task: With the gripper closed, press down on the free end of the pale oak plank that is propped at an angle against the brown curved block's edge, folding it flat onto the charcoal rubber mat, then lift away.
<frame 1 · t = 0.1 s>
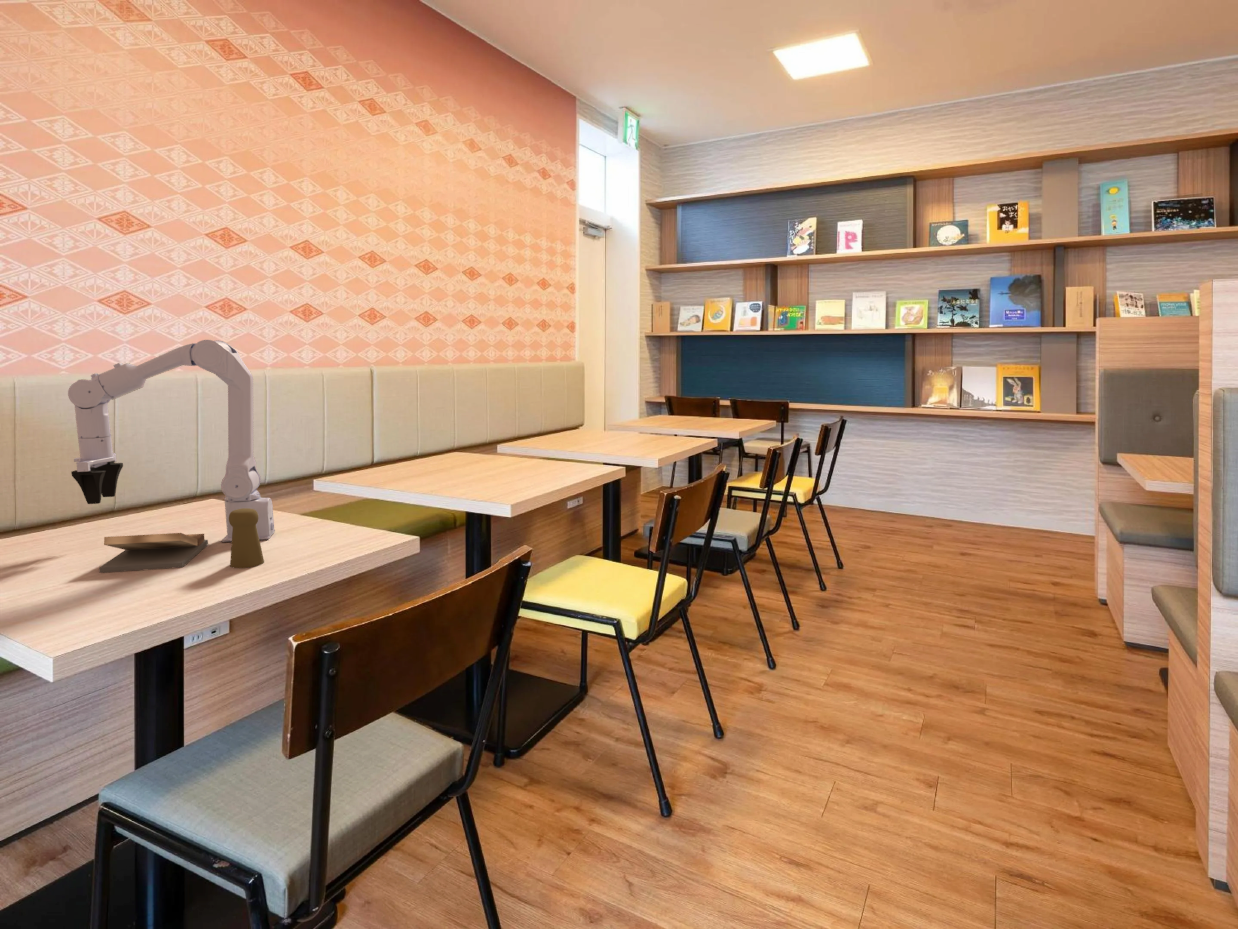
hand: (101, 500, 155), 10 cm above the table, tool pointing down, fingers open, 7 cm apart
oak plank: (153, 541, 145), point 4 cm above the table, hinge at 20.0°
olive pawn: (247, 564, 143), on the table
rubber mat: (157, 557, 147), on the table
brown curved block: (167, 549, 153), resting on rubber mat
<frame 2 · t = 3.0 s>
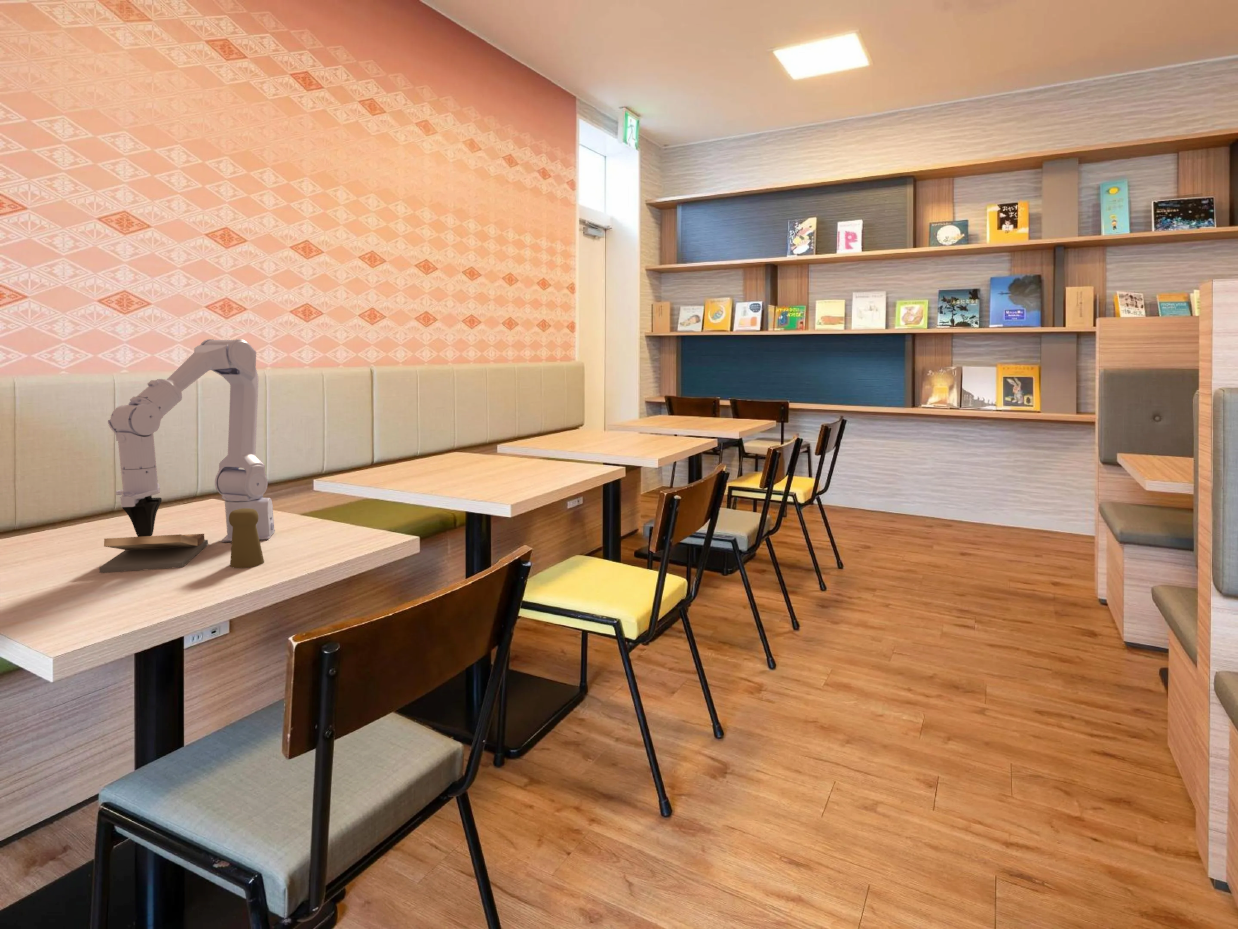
hand: (145, 536, 141), 6 cm above the table, tool pointing down, fingers closed
oak plank: (153, 542, 145), point 4 cm above the table, hinge at 18.4°, touching gripper
everything else where it was.
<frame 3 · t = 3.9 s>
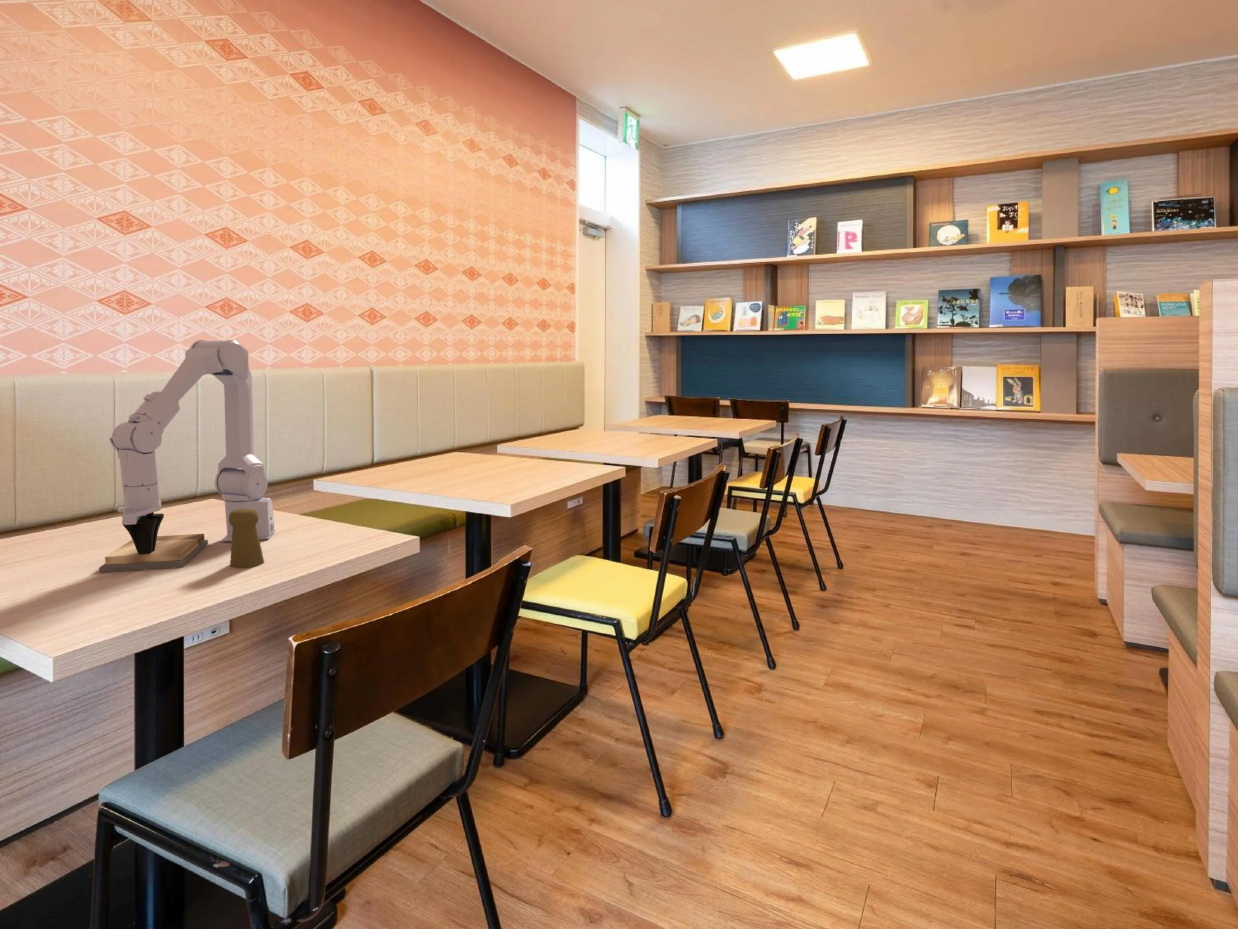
hand: (146, 552, 141), 2 cm above the table, tool pointing down, fingers closed on oak plank
oak plank: (153, 551, 145), point 2 cm above the table, hinge at -0.1°, touching gripper
everything else where it was.
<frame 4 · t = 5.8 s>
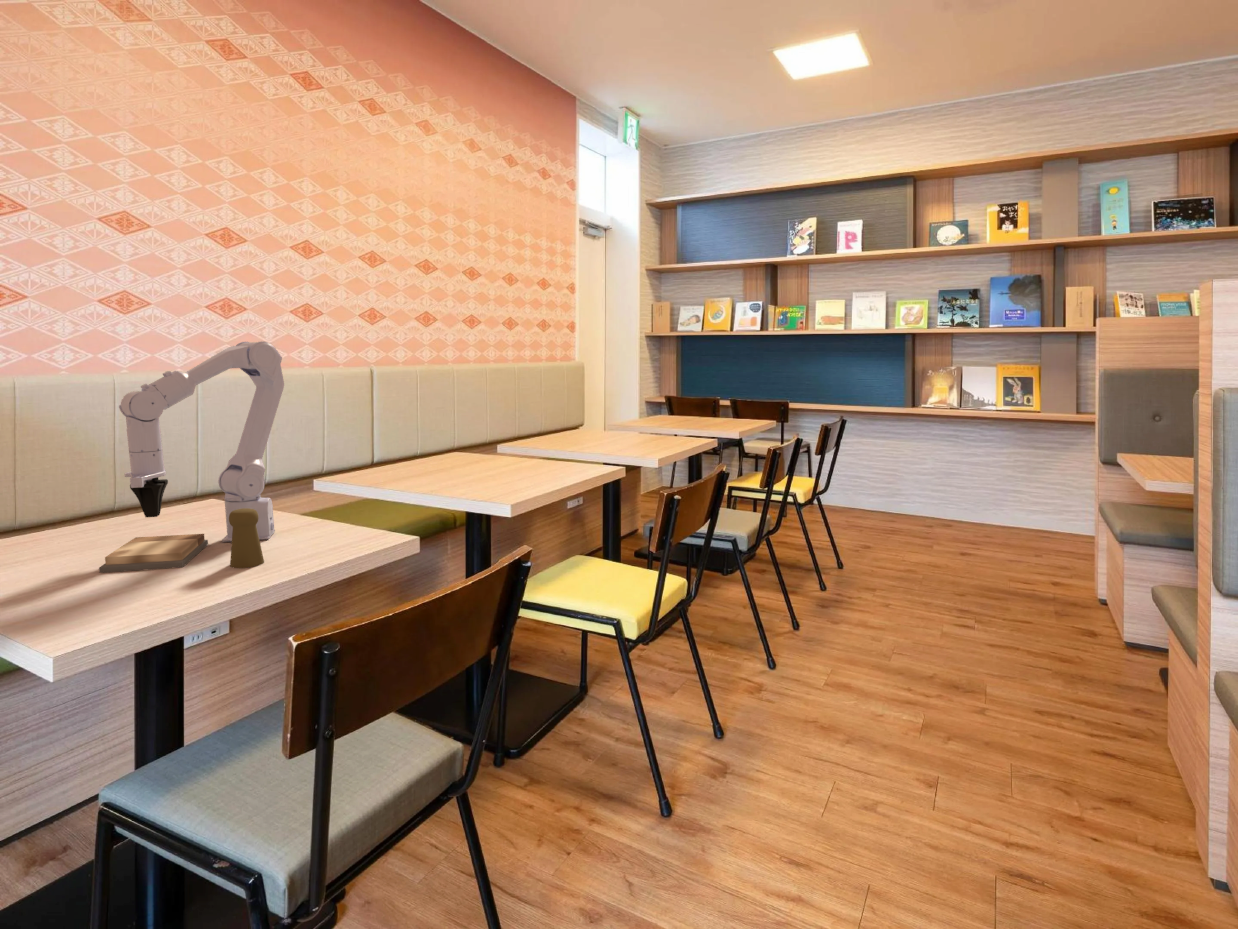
hand: (152, 516, 149), 8 cm above the table, tool pointing down, fingers closed
oak plank: (153, 551, 145), point 2 cm above the table, hinge at -0.3°, touching rubber mat
everything else where it was.
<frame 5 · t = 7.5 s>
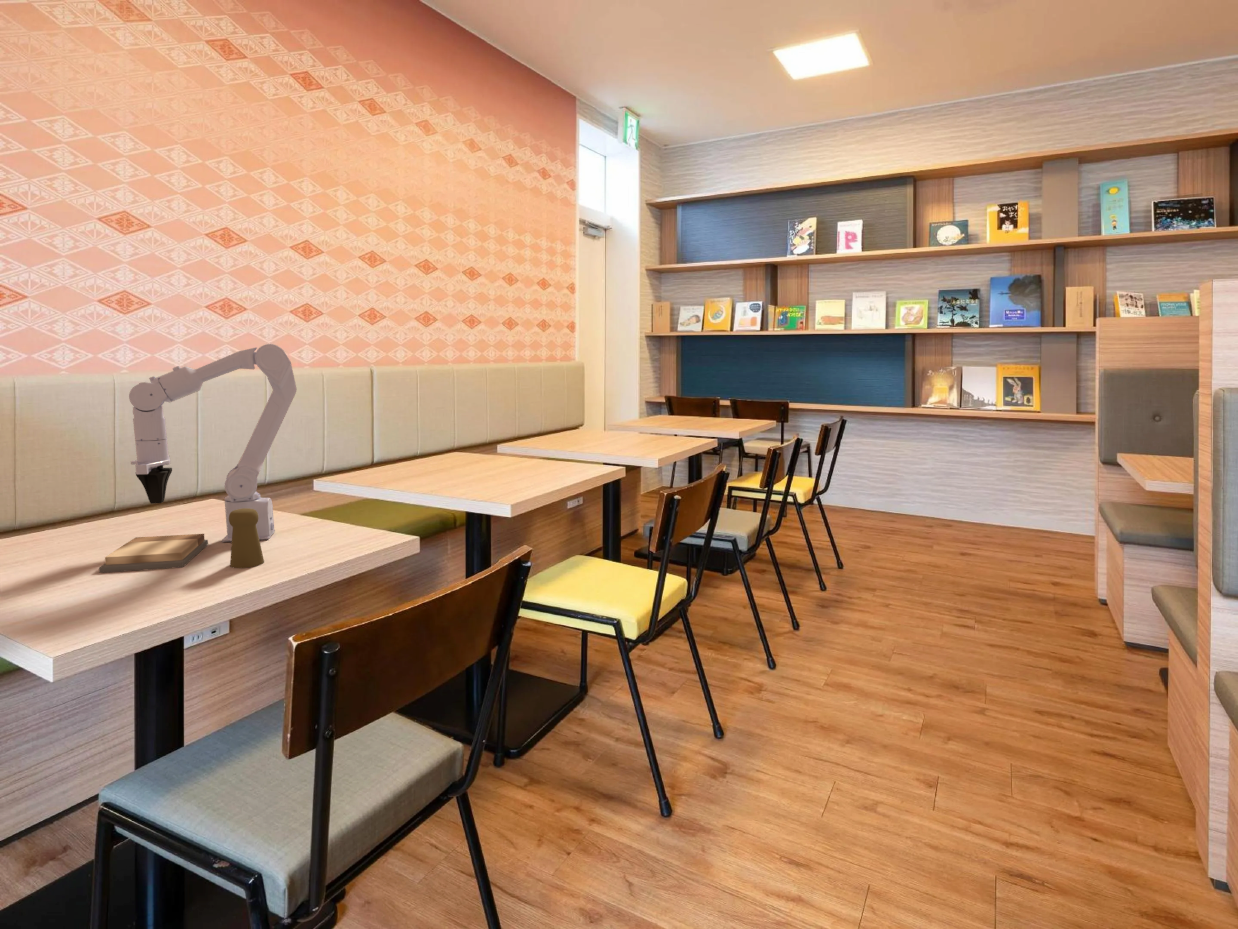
hand: (157, 502, 155), 9 cm above the table, tool pointing down, fingers closed
nothing on the table moved.
at the end: oak plank at +0° (first picture: +20°); olive pawn moved 0.2 cm from its start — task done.
